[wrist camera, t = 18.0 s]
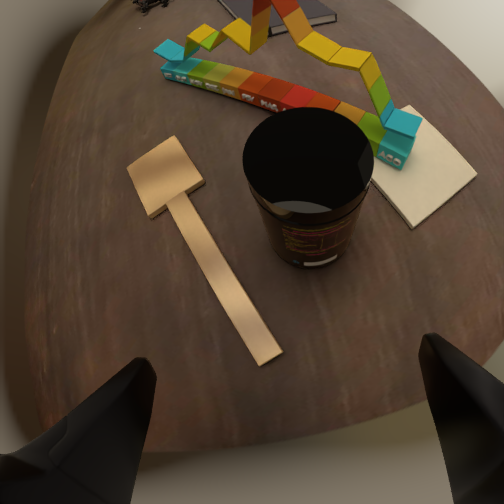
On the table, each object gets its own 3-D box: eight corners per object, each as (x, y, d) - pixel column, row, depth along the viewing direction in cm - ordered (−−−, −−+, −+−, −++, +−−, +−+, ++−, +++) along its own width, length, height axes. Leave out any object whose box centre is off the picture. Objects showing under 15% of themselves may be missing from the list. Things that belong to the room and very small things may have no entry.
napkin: (475, 176, 23) (477, 173, 23) (411, 229, 23) (413, 227, 22) (408, 108, 27) (409, 104, 26) (338, 146, 26) (339, 142, 26)
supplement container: (332, 183, 25) (338, 94, 16) (364, 253, 23) (398, 187, 13) (257, 208, 26) (227, 128, 16) (284, 283, 24) (265, 234, 14)
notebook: (336, 21, 33) (278, -19, 41) (336, 13, 32) (277, -26, 39) (254, 41, 34) (214, -3, 41) (252, 32, 32) (212, -10, 40)
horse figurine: (180, 23, 44) (170, -9, 46) (176, 8, 40) (167, -22, 42) (134, 38, 44) (131, 4, 46) (128, 24, 40) (126, -9, 42)
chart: (164, 79, 34) (115, -10, 20) (180, 65, 35) (137, -24, 21) (400, 172, 24) (444, 24, 10) (412, 149, 24) (452, 9, 10)
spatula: (306, 337, 22) (306, 336, 21) (238, 378, 22) (235, 380, 21) (177, 139, 30) (173, 133, 29) (129, 171, 30) (125, 166, 29)
